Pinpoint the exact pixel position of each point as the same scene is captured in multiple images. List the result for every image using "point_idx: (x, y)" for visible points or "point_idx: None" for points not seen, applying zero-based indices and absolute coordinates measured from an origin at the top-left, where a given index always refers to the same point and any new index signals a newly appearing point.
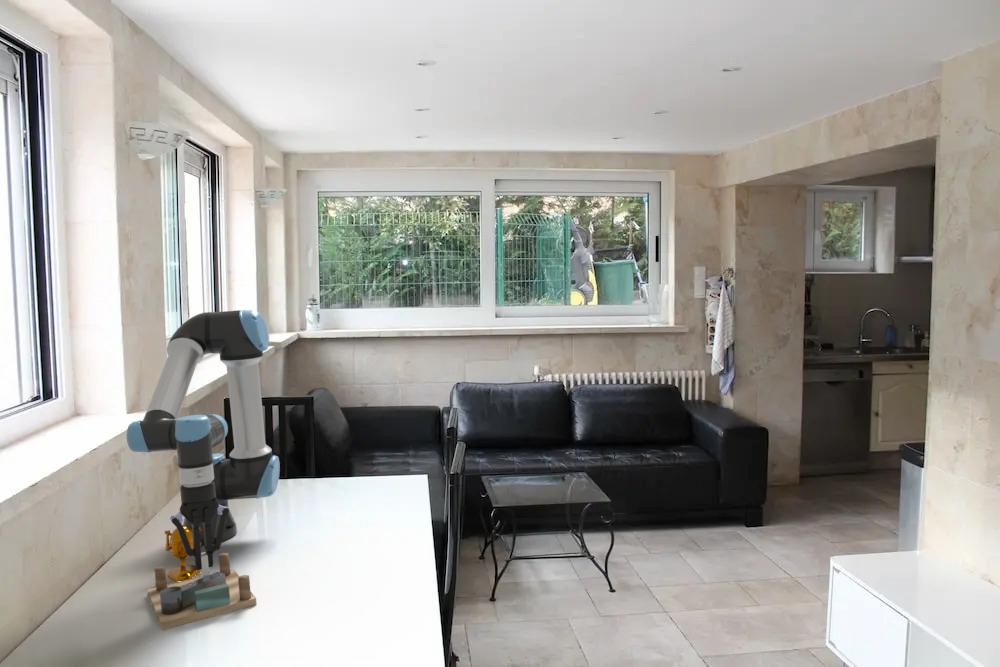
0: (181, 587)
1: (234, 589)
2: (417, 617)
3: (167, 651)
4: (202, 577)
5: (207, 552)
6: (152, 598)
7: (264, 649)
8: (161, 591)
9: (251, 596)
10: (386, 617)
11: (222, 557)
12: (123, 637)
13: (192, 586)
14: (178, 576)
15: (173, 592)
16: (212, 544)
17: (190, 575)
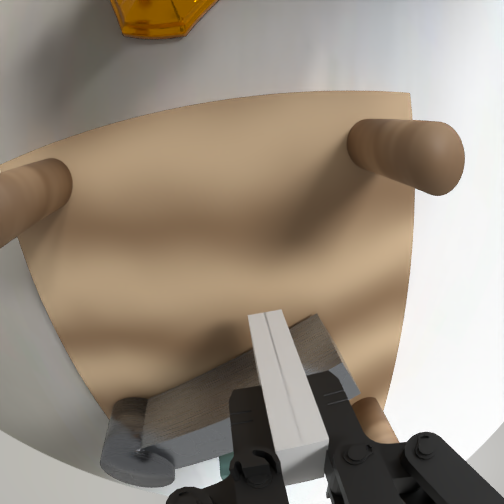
0: (168, 449)
1: (360, 342)
2: (479, 443)
3: (171, 488)
4: (257, 370)
5: (330, 491)
6: (39, 285)
7: (318, 500)
8: (105, 466)
9: (379, 400)
10: (465, 444)
11: (423, 191)
12: (58, 424)
13: (212, 456)
14: (129, 15)
15: (152, 484)
16: (400, 479)
17: (192, 10)
